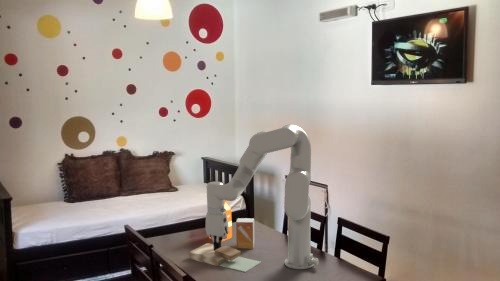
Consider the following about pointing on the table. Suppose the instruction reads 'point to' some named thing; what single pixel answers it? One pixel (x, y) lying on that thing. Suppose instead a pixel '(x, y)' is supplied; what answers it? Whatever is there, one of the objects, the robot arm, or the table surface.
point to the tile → (227, 252)
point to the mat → (240, 264)
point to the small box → (245, 233)
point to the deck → (206, 255)
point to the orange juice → (228, 212)
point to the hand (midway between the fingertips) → (217, 249)
